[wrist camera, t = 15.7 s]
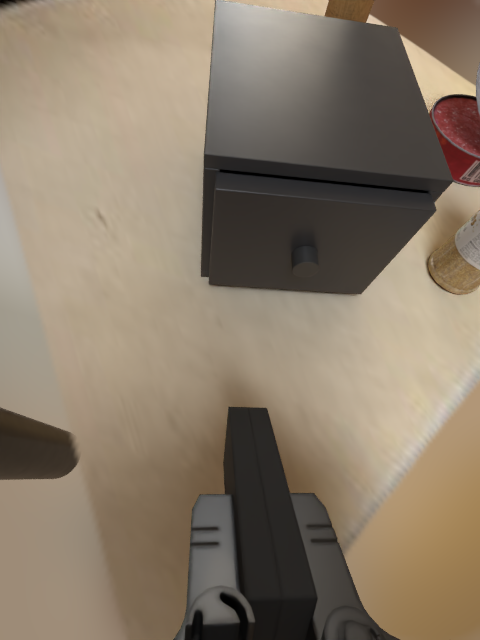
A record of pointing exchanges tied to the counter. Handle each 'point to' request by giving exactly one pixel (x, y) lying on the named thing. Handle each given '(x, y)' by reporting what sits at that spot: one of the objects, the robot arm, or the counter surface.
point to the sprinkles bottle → (459, 259)
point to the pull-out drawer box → (308, 231)
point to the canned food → (460, 134)
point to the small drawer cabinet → (314, 105)
